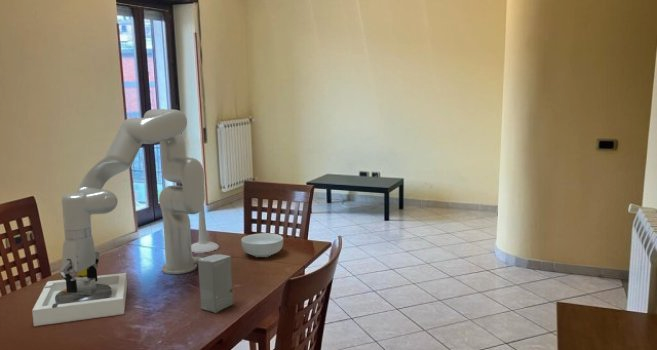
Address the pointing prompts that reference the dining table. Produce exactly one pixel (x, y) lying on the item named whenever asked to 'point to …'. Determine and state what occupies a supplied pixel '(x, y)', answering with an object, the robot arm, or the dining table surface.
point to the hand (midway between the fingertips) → (82, 286)
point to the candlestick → (203, 237)
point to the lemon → (83, 272)
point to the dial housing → (57, 313)
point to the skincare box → (215, 282)
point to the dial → (84, 292)
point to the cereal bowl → (262, 244)
